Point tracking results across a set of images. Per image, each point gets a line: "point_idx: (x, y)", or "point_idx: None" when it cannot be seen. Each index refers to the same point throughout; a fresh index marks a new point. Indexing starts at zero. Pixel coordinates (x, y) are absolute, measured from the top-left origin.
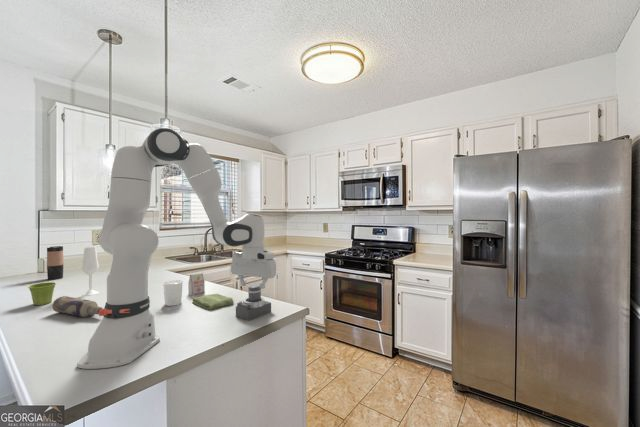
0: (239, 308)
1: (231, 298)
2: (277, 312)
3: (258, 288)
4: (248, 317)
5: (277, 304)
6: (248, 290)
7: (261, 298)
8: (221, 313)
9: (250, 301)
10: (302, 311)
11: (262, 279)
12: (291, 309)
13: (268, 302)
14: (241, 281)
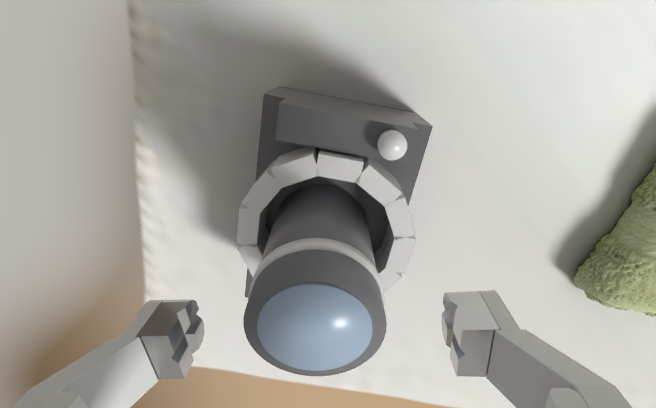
0: (381, 116)
1: (609, 298)
2: (226, 269)
3: (246, 312)
4: (276, 89)
5: None
6: (364, 267)
7: None
8: (552, 110)
9: (322, 199)
10: None
11: (64, 403)
12: None
13: None
14: (502, 333)
